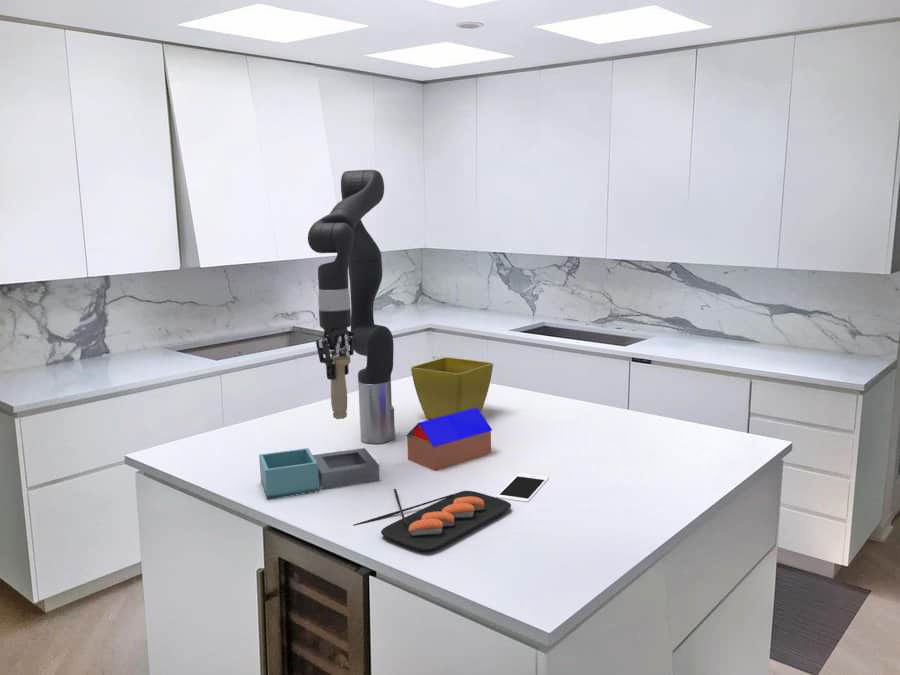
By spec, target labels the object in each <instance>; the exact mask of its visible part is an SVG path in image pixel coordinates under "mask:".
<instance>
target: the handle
mask: <svg viewBox="0 0 900 675" xmlns="http://www.w3.org/2000/svg"><path fill="white" fill-rule="evenodd" d="M330 357H331V359H332V355H330ZM335 364H336V379H334V380H330V402H331V410H332V417H333V418H334V419H336V420H344V419H345V418H347V417H348V416H347V415H348V390H347V382H346V375H345V366H346V365H348V366H349V364H351V356H350V357H347V356H338V355H337V356H336V362H335Z"/></svg>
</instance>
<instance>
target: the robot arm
mask: <svg viewBox="0 0 900 675" xmlns="http://www.w3.org/2000/svg"><path fill="white" fill-rule="evenodd" d="M340 194H341V201H339V202H337V203H336V204H335V206H334V207H333V208H332V210H331V211H330V213H329V214H327V215H324V216H322V217H321V218H320V219H318V220H317V221H315V222H314V223H313V224H312V225H311V227H310V228H309V231H308V233H307V243H308V246H309V248H310V249H311V250H312V251H313V252H315V253H318V254H336V257H335V259H334V261H330V262H327V263H323V264H320V265H319V266H318V268H317V278H318V279H317V280H318V281H317V282H318V297H317V299H318V301H317V302H318V303H317V304H318V318H319V327H320V328H321V329H323V336H322V338H321V339H316V341H315V345H316V349H317V354H318V358H319V363H321V364H325V367H326V368H325V370H326V378H327V379H328V380H330V381H331V380H334V379H336V364H335V362H336V356H347V357H350V358H351V356H353V355H354V353H356V354H358V355H360V356H364V357H366V367H364V368H362V369H360V370H359V371H358V373H357V382H358V386H357V388H358V404H359V405H358V406H359V428H360V431H359V432H360V441H361V442H363V443H365V444H384V443H387V442H390V441H394V440H396V429H395V428H396V426H395V407H394V406H393V404H392V403H393V402H392V401H393V400H392V379H391V378H392V372H393V369H394V348H395V347H394V346H395V345H394V337H393V334H392V332H391V331H392V330H390V328H388V327H387V326H385V325H380V324H375V320H374V316H375V315H374V302H375V299H376V296H377V294H378V291H379V289H380V286H381V284H382V279H383V260H382V252H381V250H380V248H379V245H377V243H376V241H375V240H374V238H373V237H372V235H371V234H370V233H369V231H368V230H367V229H366V227H365V225H364V223H363V221H362V219H363V217H364V216H366V215H367V214H368V213H369V212H370V211H371V210H373V209H374V208H375V207H376V206H377V205H379V203H380V202H382V200H383V198H384V195H385V182H384V178H383V174H382V173H381V172H380V171H379V170H376V169H357V170H346V171H344V172H343V173H342V174H341V178H340ZM349 287H350V288H349ZM348 328H350V330H349V329H348ZM330 356H332V359H331V357H330ZM349 373H350V372H349V364H348V365H346V366H345V376H347V375H349Z"/></svg>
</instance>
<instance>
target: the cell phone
mask: <svg viewBox="0 0 900 675" xmlns="http://www.w3.org/2000/svg"><path fill="white" fill-rule="evenodd" d="M549 479H550V478H549V477H548V476H541V475H533V474H527V473H526V474H524V473H518V474H516V475H515V476H514V478H513V479H512V480H511V481H509V482H508V483H507V485H505V487H504V488H503V489H502V490H500V491H499V492H498V493H497V495H495V498H499V499H502V500H508V501H514V502H515V501H517V502H523V503H529V502H530V501H531V500H532V498H533V497H534V496H535V495H536V494H537V493H538V491H539V490H540V489H541V488H542V487H543V486H544V485H545V484H546V483H547V482H548V481H549Z"/></svg>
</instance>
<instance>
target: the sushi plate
mask: <svg viewBox="0 0 900 675" xmlns="http://www.w3.org/2000/svg"><path fill="white" fill-rule="evenodd" d="M393 491H394V496H395V499H396V502H397V505H398V507H399V510H397V511H394V512H390V513H387V514H384V515H383V514H382V515H381V516H377V517H374V518H373V517H372V518H371V519H367V520H364V521H360V522H358V523H355V524H352V526H359V525H362V524H367V523H371V522H375V521H379V520H383V519H386V518H388V517H392V516H395V515H398V514H401V517H402V518H400V519H399V520H397V521H394V522H392V523H391V524H389V525H387V526H385V527H383V528H382V529H381V531H380V534H381V535H382V536H383V537H384V538H387V539H388V540H391V541H393V542H396V543H399V544H401V545H404V546H406V547H409V548H412V549H415V550H419V551H423V552H424V551H425V552H429V551H433V550H436V549H439V548H441V547H442V546H444V545H446V544H449V543H450V542H452V541H454V540H456V539H458V538H460V537H461V536H463V535H465V534H467V533H469V532H471V531H472V530H474V529H476V528H478V527H479V526H482V525H483V524H485V523H487V522H490V521H491V520H493V519H495V518H497V517H499V516H500V515H502V514H503V513H505V512H507V511H508V510H510V509H511V507H512V504H511V503H510V502H509V501H507V500H506V499H501V498H496V496H493V495H488V494H485V493H482V492H478V491H473V490H461V491H458V492H456V493H453V494H449V495H445V496H442V497H439V498H435V499H432V500H430V501H425V502H422V503H420V504H416V505H413V506H410V507H407V508H404V509H403V508H402V505H401V501H400V498H399V494H398V491H397V489H396V488H394V489H393ZM434 502H435V503H434ZM430 503H431V504H430ZM428 504H429V505H428ZM426 505H428V506H426ZM421 506H426V507H424V508H422V509H420V510H418V511H416V512H413V513H411V514H409V515H407V516H405V514H404V512H407V511H409V510H413V509H417V508H420V507H421Z"/></svg>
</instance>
